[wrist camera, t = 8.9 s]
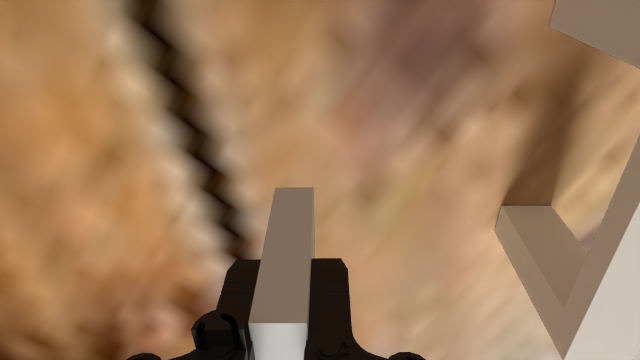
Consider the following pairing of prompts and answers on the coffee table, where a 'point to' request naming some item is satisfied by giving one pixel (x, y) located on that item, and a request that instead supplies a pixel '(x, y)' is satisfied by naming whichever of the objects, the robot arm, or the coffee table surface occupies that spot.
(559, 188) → the coffee table surface
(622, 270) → the bridge
